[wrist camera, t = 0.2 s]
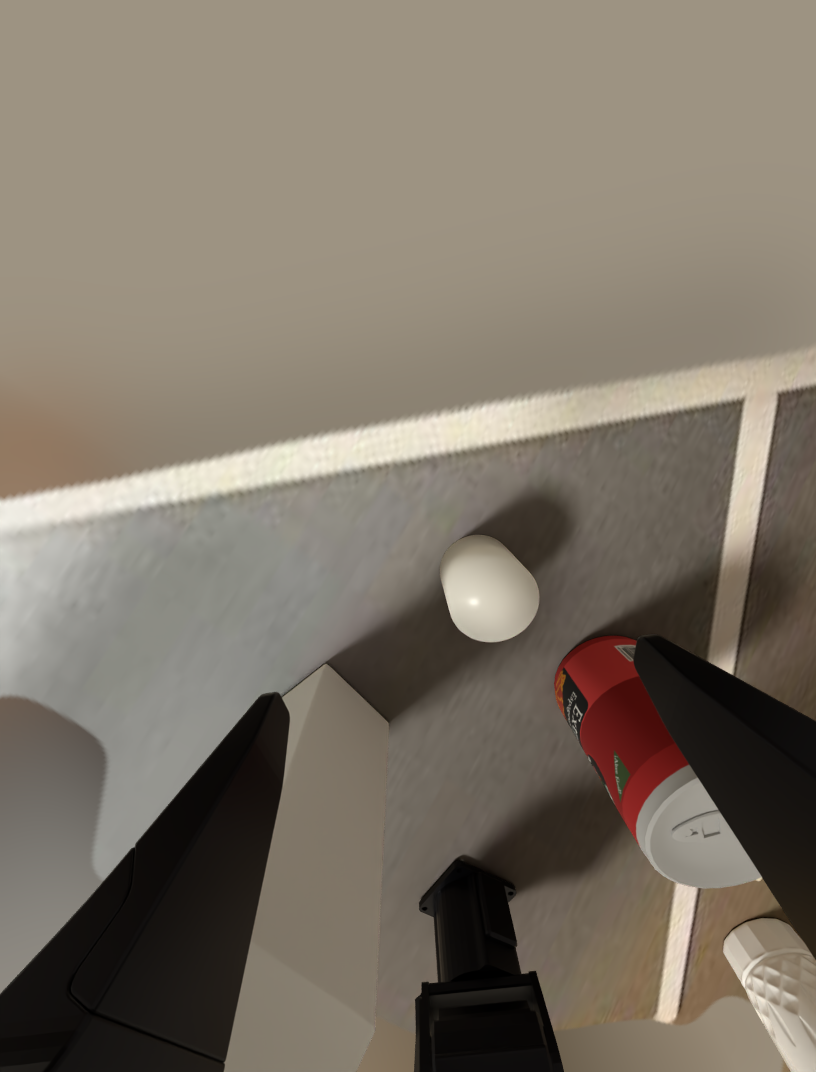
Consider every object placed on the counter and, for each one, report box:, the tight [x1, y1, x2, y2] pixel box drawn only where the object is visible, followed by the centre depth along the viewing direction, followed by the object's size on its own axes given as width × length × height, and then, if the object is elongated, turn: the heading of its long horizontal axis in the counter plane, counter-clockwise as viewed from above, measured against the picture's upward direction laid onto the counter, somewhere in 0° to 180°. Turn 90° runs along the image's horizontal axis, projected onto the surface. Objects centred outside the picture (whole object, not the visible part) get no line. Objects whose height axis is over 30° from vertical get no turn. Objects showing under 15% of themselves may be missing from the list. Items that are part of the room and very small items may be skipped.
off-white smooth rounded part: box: [440, 535, 539, 642], centre depth 22 cm, size 5×5×5 cm
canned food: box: [554, 636, 762, 888], centre depth 22 cm, size 8×8×11 cm
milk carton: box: [224, 664, 389, 1072], centre depth 19 cm, size 7×7×19 cm
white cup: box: [723, 918, 816, 1072], centre depth 30 cm, size 8×8×10 cm
